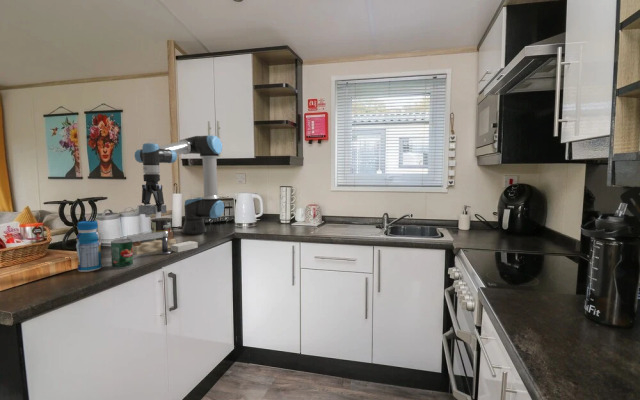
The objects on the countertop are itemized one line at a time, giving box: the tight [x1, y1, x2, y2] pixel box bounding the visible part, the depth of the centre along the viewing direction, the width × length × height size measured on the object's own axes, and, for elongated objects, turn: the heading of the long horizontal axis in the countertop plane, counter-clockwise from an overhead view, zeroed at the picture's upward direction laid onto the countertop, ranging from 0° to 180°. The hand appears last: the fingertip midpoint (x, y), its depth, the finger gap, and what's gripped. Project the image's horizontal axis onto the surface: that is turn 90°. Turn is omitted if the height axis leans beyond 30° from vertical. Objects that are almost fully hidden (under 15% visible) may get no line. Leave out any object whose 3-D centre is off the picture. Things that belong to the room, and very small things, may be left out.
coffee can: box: [150, 217, 172, 241], centre depth 185 cm, size 10×10×14 cm
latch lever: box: [126, 231, 168, 243], centre depth 155 cm, size 19×3×2 cm, turn 143°
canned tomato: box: [110, 238, 134, 269], centre depth 140 cm, size 8×8×11 cm
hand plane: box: [132, 231, 177, 256], centre depth 169 cm, size 22×6×8 cm, turn 150°
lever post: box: [158, 237, 173, 256], centre depth 162 cm, size 6×6×8 cm
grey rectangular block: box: [138, 204, 167, 216], centre depth 168 cm, size 10×8×4 cm
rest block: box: [170, 240, 199, 253], centre depth 171 cm, size 12×6×3 cm, turn 150°
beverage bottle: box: [75, 220, 102, 273], centre depth 134 cm, size 8×8×20 cm
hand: (153, 217), depth 168 cm, fingers closed on grey rectangular block, 8 cm apart
